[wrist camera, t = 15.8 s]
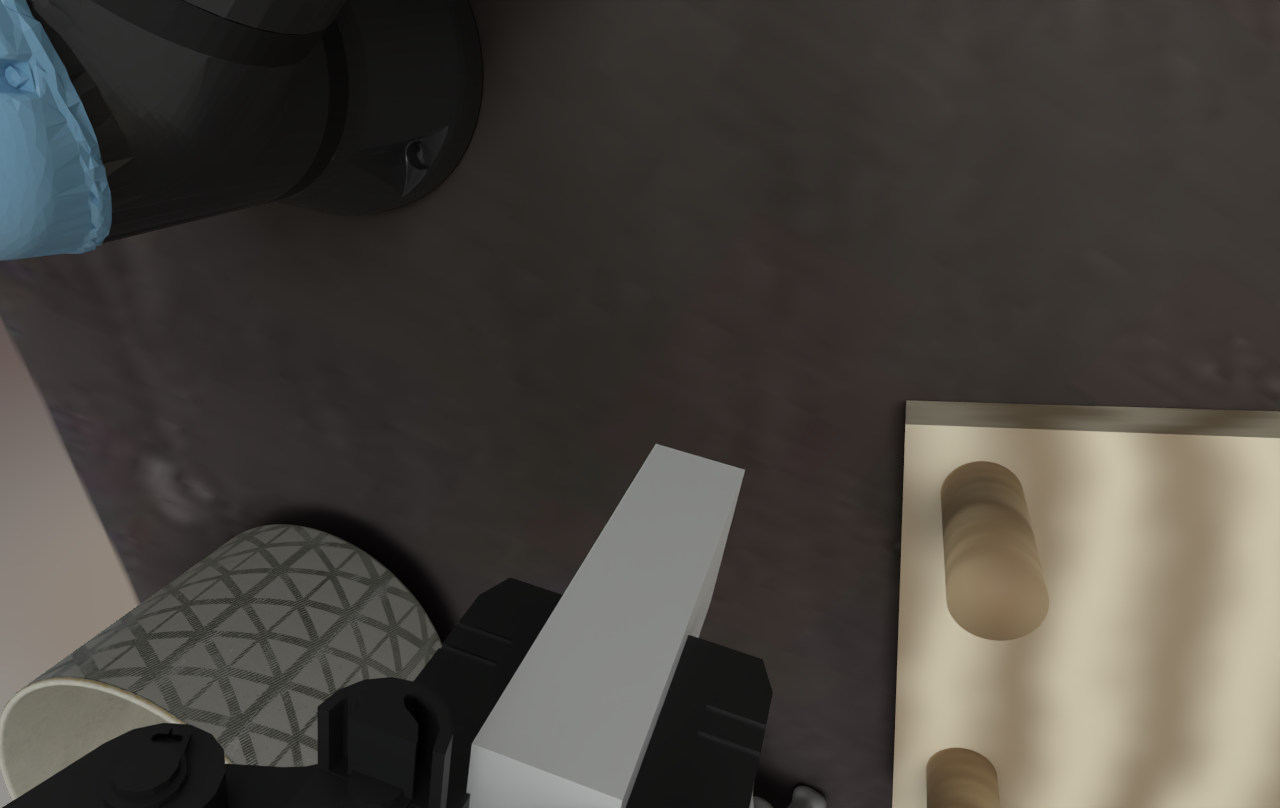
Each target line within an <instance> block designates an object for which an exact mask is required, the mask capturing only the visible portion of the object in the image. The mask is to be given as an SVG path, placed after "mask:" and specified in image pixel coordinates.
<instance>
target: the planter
mask: <svg viewBox="0 0 1280 808" xmlns="http://www.w3.org/2000/svg"><path fill="white" fill-rule="evenodd" d="M441 647H442V643H441V640H440V638H439V636H438V633H437V631H436V629H435V627H434V625H433V624H432V622H431V620H430V618H429V617H428V615H427V613H426V612H425V610H424V609H423V607H422V606H421V605H420V603H419V602H418V600H417V599H416V598H415V597H414V595H413V594H412V593H411V592H410V591H409V589H408V588H407V587H406V586H405V585H404V584H403V583H402V582H401V581H400V580H399V579H398V578H397V577H396V576H395V575H394V574H393V573H392V572H391V571H390V570H389V569H387V568H386V567H385V566H384V565H382V564H381V563H380V562H379V561H377V560H376V559H375V558H373V557H372V556H370V555H369V554H368V553H366V552H365V551H363V550H361V549H360V548H358V547H356V546H355V545H353V544H351V543H349V542H347V541H345V540H343V539H341V538H339V537H337V536H334V535H332V534H329V533H327V532H323V531H320V530H317V529H314V528H309V527H305V526H299V525H291V524H273V525H264V526H260V527H255V528H253V529H250V530H247V531H244V532H242V533H240V534H238V535H237V536H235V537H234V538H232V539H231V540H229V541H228V542H227V543H225V544H224V545H222V546H221V547H220V548H218V549H217V550H215V551H214V552H213V553H211V554H210V555H208V556H207V557H206V558H204V559H203V560H201V561H200V562H199V563H197V564H196V565H194V566H193V567H192V568H190V569H189V570H187V571H186V572H185V573H183V574H182V575H180V576H179V577H178V578H176V579H175V580H173V581H172V582H171V583H169V584H168V585H166V586H165V587H164V588H162V589H161V590H159V591H158V592H157V593H155V594H154V595H152V596H151V597H150V598H148V599H147V600H145V601H144V602H143V603H141V604H140V605H138V606H137V607H136V608H134V609H133V610H132V611H130V612H129V613H127V614H126V615H125V616H123V617H122V618H120V619H119V620H118V621H116V622H115V623H113V624H112V625H111V626H109V627H108V628H106V629H105V630H104V631H102V632H101V633H99V634H98V635H97V636H95V637H94V638H92V639H91V640H90V641H88V642H87V643H85V644H84V645H83V646H81V647H80V648H78V649H77V650H76V651H74V652H73V653H71V654H70V655H69V656H67V657H66V658H65V659H63V660H62V661H60V662H59V663H57V664H56V665H55V666H53V667H52V668H50V669H49V670H48V671H46V672H45V673H44V674H42V675H41V676H39V677H38V678H36V679H35V680H34V681H32V682H31V683H29V684H28V685H27V686H25V687H24V688H22V689H21V690H20V691H18V692H17V693H16V694H15V695H14V696H13V697H12V698H11V699H10V700H9V701H8V703H7V704H6V706H5V707H4V709H3V711H2V713H1V716H0V769H1V773H2V777H3V780H4V782H5V785H6V788H7V790H8V792H9V795H10V797H11V799H12V801H13V800H15V799H17V798H18V797H20V796H21V795H23V794H25V793H26V792H28V791H29V790H31V789H32V788H34V787H36V786H37V785H39V784H40V783H42V782H43V781H45V780H47V779H48V778H50V777H51V776H53V775H55V774H56V773H58V772H59V771H61V770H62V769H64V768H66V767H67V766H69V765H70V764H72V763H74V762H75V761H77V760H78V759H80V758H81V757H83V756H85V755H86V754H88V753H89V752H91V751H92V750H94V749H96V748H97V747H99V746H100V745H102V744H104V743H105V742H107V741H110V740H112V739H114V738H116V737H118V736H120V735H122V734H124V733H126V732H128V731H131V730H133V729H136V728H141V727H146V726H151V725H155V724H160V723H175V724H190V725H193V726H195V727H197V728H200V729H202V730H204V731H206V732H208V733H211V734H212V735H213V736H214V738H215V739H216V740H217V742H218V743H219V744H220V745H221V747H222V748H223V749H224V755H225V763H226V764H242V765H258V766H274V767H303V766H310V765H315V764H318V723H317V707H318V706H319V705H320V704H321V703H323V702H324V701H325V700H326V699H328V698H329V697H330V696H331V695H333V694H334V693H335V692H336V691H337V690H339V689H342V688H344V687H347V686H349V685H352V684H354V683H357V682H359V681H362V680H366V679H376V678H387V677H394V678H399V679H404V680H409V681H414V680H415V679H416V677H417V676H418V675H419V673H420V672H421V671H422V669H423V668H424V667H425V665H426V664H427V663H428V662H429V660H430V659H431V658H432V656H433V655H434V654H435V652H436V651H437V650H438V648H440V649H441Z"/></svg>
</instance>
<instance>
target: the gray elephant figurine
mask: <svg viewBox="0 0 1280 808" xmlns="http://www.w3.org/2000/svg"><path fill="white" fill-rule="evenodd" d="M753 788H754V787H753ZM826 806H827V804H826V800H825V798H824V797H823V796H822V795H821V794H819V793H818V792H816V791H815V790H814V789H812V788H810V787H807V786H798V787H796V788H795V790H794V792H793V799H792V802H791V804H790V805H789V806H788V807H787V808H826ZM749 808H773V807H772V805H771V804H770V803H769V802H767V801H766V800H765V799H762V798H760V797H757V796H754V797H753V792H752V797H751V802H750V807H749Z"/></svg>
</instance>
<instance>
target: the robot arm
mask: <svg viewBox="0 0 1280 808" xmlns="http://www.w3.org/2000/svg"><path fill="white" fill-rule="evenodd" d="M481 94H482V58H481V49H480V43H479V37H478V33H477V28H476V24H475V21H474V17H473V14H472V11H471V8H470V5H469V3H468V0H0V260H14V259H22V258H30V257H38V256H46V255H55V254H63V253H69V254H81V253H84V252H87V251H90V250H96V246H101V245H102V243H106V242H110V241H114V240H118V239H122V238H126V237H130V236H134V235H138V234H142V233H147V232H151V231H155V230H159V229H163V228H167V227H171V226H175V225H179V224H183V223H187V222H191V221H196V220H200V219H204V218H208V217H212V216H216V215H220V214H224V213H228V212H232V211H236V210H240V209H245V208H249V207H253V206H257V205H261V204H265V203H269V202H273V201H277V202H281V203H285V204H290V205H294V206H298V207H303V208H307V209H312V210H316V211H320V212H325V213H330V214H335V215H346V216H357V215H369V214H375V213H379V212H383V211H386V210H390V209H393V208H396V207H400V206H403V205H406V204H409V203H411V202H414V201H416V200H418V199H420V198H422V197H423V196H425V195H427V194H428V193H430V192H431V191H432V190H434V189H435V188H436V187H437V186H438V185H440V184H441V183H442V182H443V181H444V180H445V179H446V178H447V177H448V176H449V174H450V173H451V172H452V171H453V169H454V168H455V167H456V165H457V164H458V162H459V161H460V159H461V158H462V156H463V154H464V152H465V150H466V148H467V146H468V144H469V142H470V140H471V137H472V134H473V132H474V128H475V125H476V122H477V118H478V113H479V109H480V102H481ZM744 472H745V470H744V469H740V468H737V467H733V466H730V465H727V464H723V463H720V462H716V461H713V460H710V459H706V458H703V457H699V456H696V455H692V454H689V453H686V452H682V451H679V450H675V449H672V448H669V447H665V446H662V445H658V444H655V446H654V448H653V449H652V451H651V453H650V454H649V456H648V457H647V459H646V461H645V462H644V464H643V466H642V467H641V469H640V470H639V472H638V474H637V475H636V477H635V479H634V480H633V482H632V483H631V485H630V487H629V488H628V490H627V492H626V493H625V495H624V497H623V498H622V500H621V501H620V503H619V505H618V506H617V508H616V510H615V511H614V513H613V514H612V516H611V518H610V519H609V521H608V523H607V524H606V526H605V527H604V529H603V531H602V532H601V534H600V536H599V537H598V539H597V541H596V542H595V544H594V545H593V547H592V549H591V550H590V552H589V554H588V555H587V557H586V558H585V560H584V562H583V563H582V565H581V567H580V568H579V570H578V571H577V573H576V575H575V576H574V578H573V580H572V581H571V583H570V584H569V586H568V588H567V589H566V591H565V593H564V594H563V595H561V594H558V593H555V592H552V591H549V590H546V589H543V588H540V587H537V586H534V585H531V584H528V583H525V582H522V581H519V580H516V579H513V578H508V579H507V580H505V581H503V582H501V583H500V584H498V585H496V586H494V587H493V588H491V589H489V590H487V591H486V592H484V593H482V594H480V595H479V596H478V597H477V599H476V600H475V601H474V603H473V604H472V605H471V607H470V608H469V609H468V610H467V612H466V613H465V614H464V616H463V617H462V618H461V620H460V621H459V624H458V626H455V628H454V629H453V630H452V631H451V633H450V634H449V635H448V637H447V638H446V639H445V641H444V642H443V645H442V647H441V649H440V648H438V650H437V651H436V652H435V654H434V655H433V656H432V658H431V659H430V660H429V662H428V663H427V664H426V665H425V667H424V668H423V669H422V671H421V672H420V673H419V675H418V676H417V677H416V679H415V680H414V681H409V680H404V679H399V678H394V677H387V678H376V679H366V680H362V681H359V682H357V683H354V684H352V685H349V686H347V687H344V688H342V689H339V690H337V691H336V692H335V693H334V694H333V695H331V696H330V697H329V698H328V699H326V700H325V701H324V702H323V703H321V704H320V705H319V706H318V707H317V723H318V764H315V765H310V766H303V767H274V766H258V765H242V764H226V763H225V755H224V749H223V748H222V747H221V745H220V744H219V743H218V742H217V740H216V739H215V738H214V736H213V735H212V734H211V733H208V732H206V731H204V730H202V729H200V728H197V727H195V726H193V725H190V724H175V723H160V724H155V725H151V726H146V727H141V728H136V729H133V730H131V731H128V732H126V733H124V734H122V735H120V736H118V737H116V738H114V739H112V740H110V741H107V742H105V743H104V744H102V745H100V746H99V747H97V748H96V749H94V750H92V751H91V752H89V753H88V754H86V755H85V756H83V757H81V758H80V759H78V760H77V761H75V762H74V763H72V764H70V765H69V766H67V767H66V768H64V769H62V770H61V771H59V772H58V773H56V774H55V775H53V776H51V777H50V778H48V779H47V780H45V781H43V782H42V783H40V784H39V785H37V786H36V787H34V788H32V789H31V790H29V791H28V792H26V793H25V794H23V795H21V796H20V797H18V798H17V799H15V800H13V801H12V802H10V803H9V804H7V805H6V806H4V807H2V808H749V807H750V802H751V797H752V792H753V787H754V782H755V777H756V772H757V767H758V762H759V756H760V752H761V748H762V743H763V738H764V733H765V732H764V731H765V727H766V723H767V718H768V713H769V708H770V703H771V698H772V693H773V692H772V689H771V686H770V682H769V679H768V676H767V672H766V669H765V666H764V662H763V659H760V658H757V657H754V656H751V655H748V654H745V653H742V652H739V651H736V650H733V649H730V648H727V647H724V646H721V645H718V644H715V643H712V642H709V641H706V640H703V639H700V638H698V637H699V634H700V631H701V628H702V625H703V622H704V620H705V617H706V614H707V611H708V608H709V605H710V602H711V598H712V594H713V590H714V587H715V583H716V579H717V575H718V571H719V567H720V564H721V560H722V556H723V552H724V548H725V545H726V541H727V537H728V533H729V529H730V525H731V522H732V518H733V514H734V510H735V506H736V503H737V499H738V495H739V491H740V487H741V483H742V480H743V476H744Z"/></svg>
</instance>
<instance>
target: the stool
mask: <svg viewBox="0 0 1280 808" xmlns="http://www.w3.org/2000/svg"><path fill="white" fill-rule="evenodd" d="M892 808H1280V411H1248V410H1214V409H1180V408H1146V407H1111V406H1077V405H1043V404H1009V403H975V402H941V401H907V400H906V422H905V451H904V480H903V509H902V539H901V568H900V597H899V626H898V655H897V685H896V714H895V743H894V772H893V803H892Z"/></svg>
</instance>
